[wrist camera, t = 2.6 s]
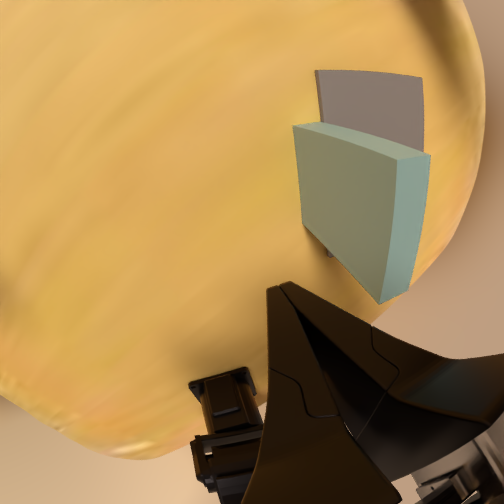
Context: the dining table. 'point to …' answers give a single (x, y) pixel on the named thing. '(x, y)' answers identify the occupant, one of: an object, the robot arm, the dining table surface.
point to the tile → (363, 202)
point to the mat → (373, 105)
